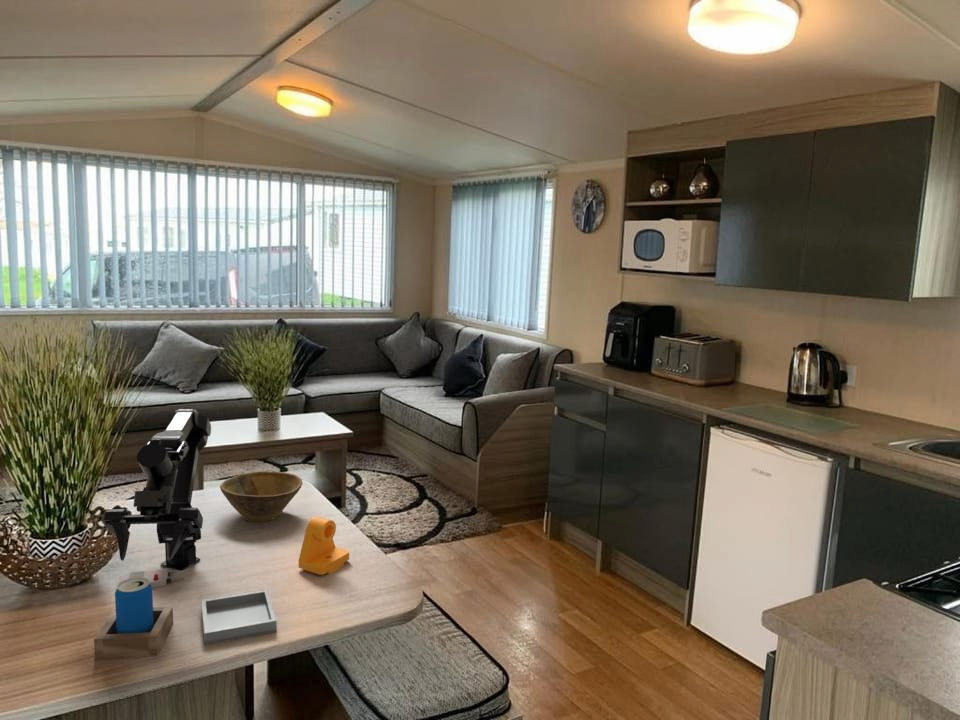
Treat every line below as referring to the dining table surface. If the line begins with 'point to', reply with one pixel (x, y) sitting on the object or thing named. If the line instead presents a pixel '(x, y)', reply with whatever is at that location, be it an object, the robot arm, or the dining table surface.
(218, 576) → the dining table surface
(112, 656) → the socket block
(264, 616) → the tray
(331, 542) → the bracket
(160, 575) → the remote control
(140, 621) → the beverage can
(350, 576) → the dining table surface
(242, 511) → the bowl
